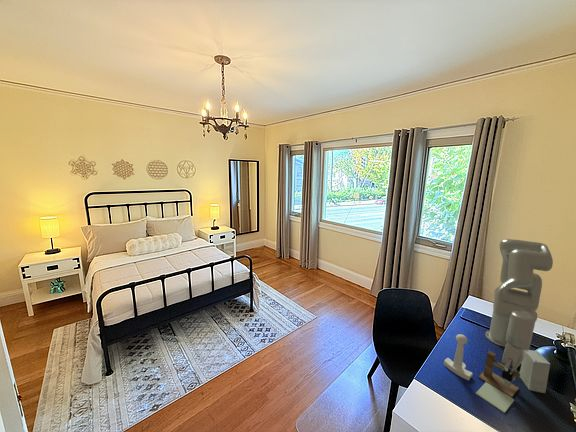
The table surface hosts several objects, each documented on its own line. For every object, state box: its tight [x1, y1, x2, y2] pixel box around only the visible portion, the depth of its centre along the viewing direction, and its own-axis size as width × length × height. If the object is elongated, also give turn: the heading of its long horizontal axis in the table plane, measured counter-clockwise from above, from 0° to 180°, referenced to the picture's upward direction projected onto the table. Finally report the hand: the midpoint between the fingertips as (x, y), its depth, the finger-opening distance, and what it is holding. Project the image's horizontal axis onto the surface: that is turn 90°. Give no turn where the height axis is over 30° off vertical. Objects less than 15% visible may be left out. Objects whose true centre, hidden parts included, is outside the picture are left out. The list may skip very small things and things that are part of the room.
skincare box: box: [518, 349, 551, 394], centre depth 108 cm, size 8×6×15 cm
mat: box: [475, 381, 515, 414], centre depth 104 cm, size 10×10×1 cm
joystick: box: [443, 333, 473, 381], centre depth 116 cm, size 11×8×20 cm
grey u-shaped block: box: [503, 364, 518, 387], centre depth 106 cm, size 7×2×8 cm, turn 121°
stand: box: [478, 350, 520, 398], centre depth 109 cm, size 8×12×13 cm, turn 31°
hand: (510, 374), depth 106 cm, fingers open, 9 cm apart
